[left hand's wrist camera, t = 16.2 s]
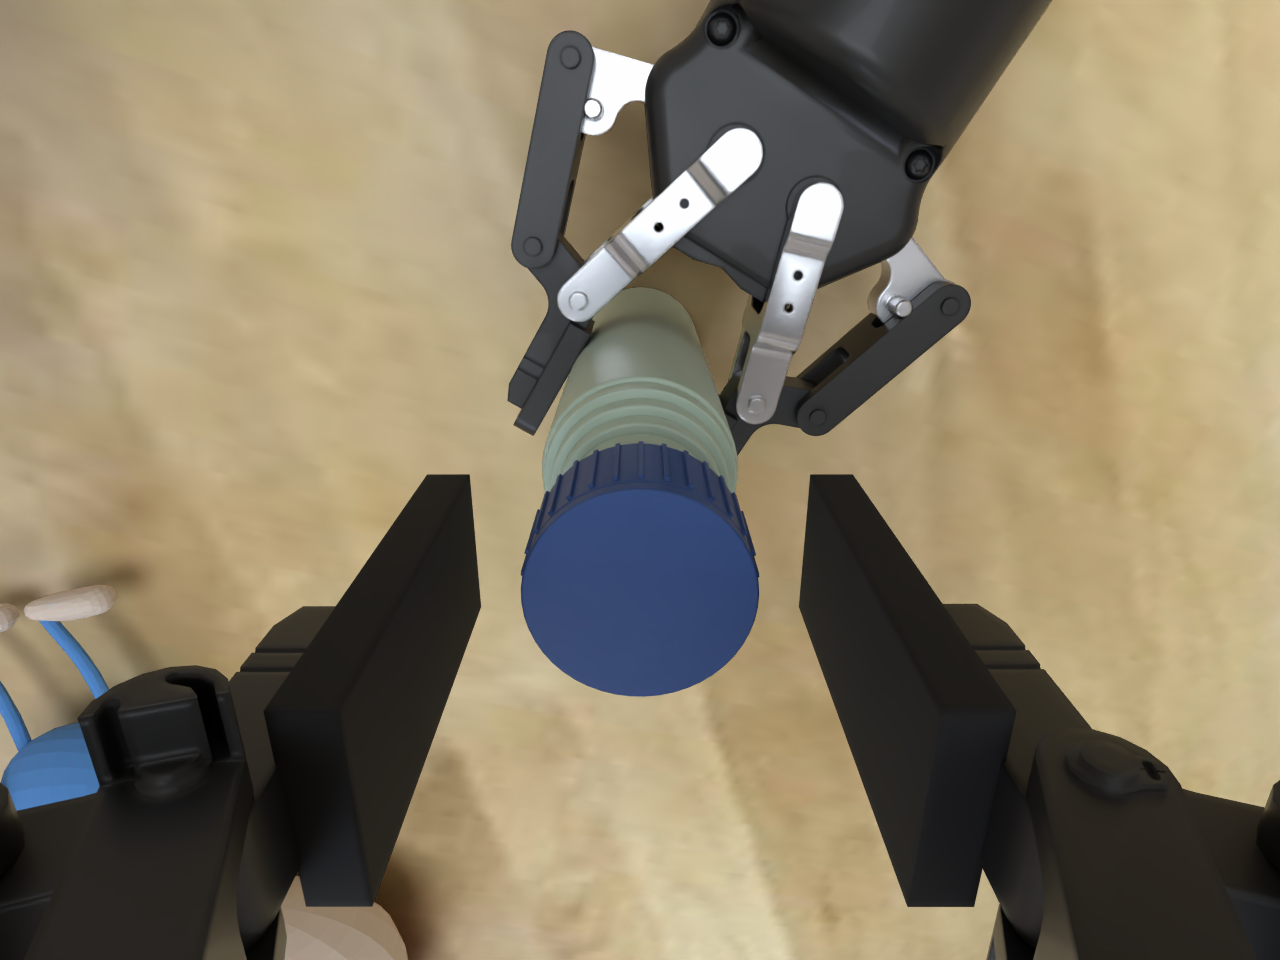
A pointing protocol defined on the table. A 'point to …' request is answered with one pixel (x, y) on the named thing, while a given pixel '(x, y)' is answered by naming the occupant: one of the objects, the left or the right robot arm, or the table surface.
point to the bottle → (641, 389)
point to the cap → (640, 571)
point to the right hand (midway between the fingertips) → (598, 460)
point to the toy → (62, 769)
